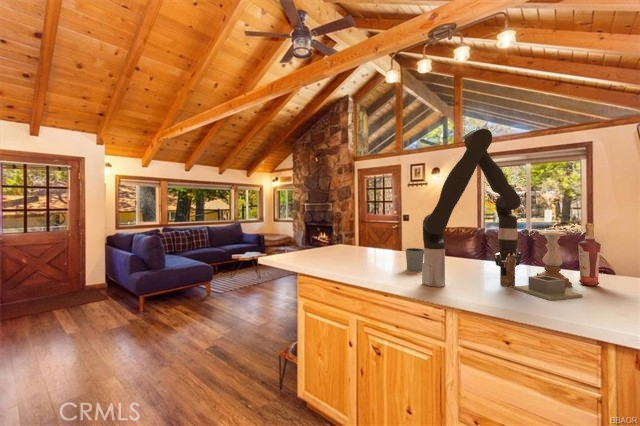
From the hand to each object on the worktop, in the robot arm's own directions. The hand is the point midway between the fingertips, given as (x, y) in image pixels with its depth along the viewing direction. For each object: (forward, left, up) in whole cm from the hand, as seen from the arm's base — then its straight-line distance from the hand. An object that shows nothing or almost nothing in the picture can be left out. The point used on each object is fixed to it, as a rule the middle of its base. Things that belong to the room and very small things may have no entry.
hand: (507, 275), depth 131 cm
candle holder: (+23, -2, -5) cm, 24 cm away
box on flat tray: (+6, -13, -5) cm, 15 cm away
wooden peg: (0, 0, -5) cm, 5 cm away
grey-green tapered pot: (-24, +39, -5) cm, 46 cm away
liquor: (+35, -9, -5) cm, 36 cm away
